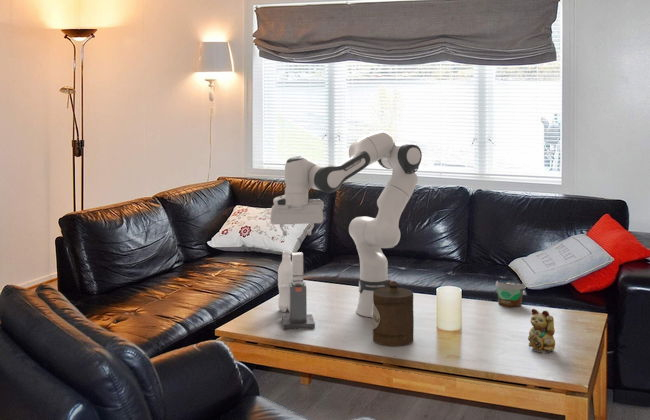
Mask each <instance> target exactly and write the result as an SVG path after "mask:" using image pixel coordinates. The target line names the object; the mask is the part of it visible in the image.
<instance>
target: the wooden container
mask: <svg viewBox="0 0 650 420" xmlns="http://www.w3.org/2000/svg"><path fill="white" fill-rule="evenodd" d="M389 286H390V287H385V288H379V289H376V290H374V292H373V318H372V340H373V342H374V343H376V344H379V345H381V346H384V347H385V346H386V347H404V346H408V345H410V344H411V343H413V342H414V327H415V326H414V325H415V323H414V319H415V318H414V291H413V290H411V289H410V288H409V289H408V288H404V287H399V283H398V282H396V281H395V280H392V281H391V282H390V283H389Z"/></svg>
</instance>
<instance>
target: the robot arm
mask: <svg viewBox="0 0 650 420" xmlns="http://www.w3.org/2000/svg"><path fill="white" fill-rule="evenodd" d="M422 153H423V152H422V149H421V148H420V147H419V146H418V145H417V144H415V143H411V142H402V141H401V142H399V141H398V142H394V138H393V137H392V136H391V134H390V133H389V132H387V131H386V130H385V131H384V130H379V131H375V132H372V133H369V134H367V135H365V136H363V137H360V138H358V139H357V140H355V141H353V142H352V143H351V145H349V148H348V157H349V158H347V159H346V160H344V161H343V162H341V163H340V164H338V165H325V164H324V165H323V164H320V163H319V164H318V163H315V162H313V161H311V160H309V159H308V158H306V156H303V155H298V156H293V157H292V156H291V157H289V158H288V159H287V160H286V162H285V165H284V182H285V183H284V184H285V187H284V188H285V189H284V194H283V195H279V196H275V197H274V198H273V200H272V201H273V204H272V206H271V209H270V218H269V219H270V220H269V221H270V223H271V224H272V225H279V228H280V230H281V231H282V236H283V237H285V236H286V237H287V236H288V235H287V234H288V233H287V231H288V230H285V229H284V226H285V225H302V224H303V225H304V224H306V225H307V224H309V225H310V226H309V227H310V228H309V229H307V230H306V232H307V233H306V234H307V236H311V235H312V231H313V229H314V227H315V224H322V223H323V222H324V212H323V210H324V208H325V203H324V201H323V200H321V199H320V198H316V199H315V198H309V189H313V190H318V191H321V192H323V193H326V194H332V193H334V192H336V191H337V190H339V189H340V187H341V186H342V185H343V184H344V183H345V182H346V181H347V180H348V179H351V178H352V177H353V176H355V175H356V174H358V173H360V172H361V171H362V170H364V169H366V168H367V167H368V166H371V165H372V164H374V163H376V162H378V165H380V166H381V167H382V168H384V169H386V170H391V171H392V174H391V177H390V179H389V181H387V183H386V185H385V187H384V188H383V190H382V191H381V193H380V195H379V197H378V198H377V200H376V206H377V208H378V211H377V214H376V217H371V216H367V215H366V216H356V217H355V218H353V219H352V220H351V221H350V223H349V225H348V233H349V235H350V237H351V238H352V240H353V242H354V244H355V246H356V250H357V253H358V257H359V279H358V292H359V297H358V303H357V308H356V310H355V313H356V314H357V315H360V316H363V317H366V318H367V317H368V318H371V319H373V292H374V290H376V289H379V288H385V287H390V286H389V283H390V282H391V281H393V280H392V279H390V278H389V277H388V259H387V257H386V256H385V254H384V253H383V250H382V249H392V248H395V246H397V245H398V243H399V242H400V239H401V231H400V230H401V229H400V228H399V223H400V219H401V215H402V213H403V211H404V209H405V208H406V205H407V204H408V202H409V201H410V199H411V197H412V195H413V193H414V190H415V189H416V186H417V183H418V175H417V173H416V172H417V171H418V170H419V169H420V168H419V166H420V164H421V162H422V156H423V154H422Z"/></svg>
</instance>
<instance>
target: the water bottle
mask: <svg viewBox="0 0 650 420" xmlns="http://www.w3.org/2000/svg"><path fill="white" fill-rule="evenodd" d="M281 255H282V256H281V258H282V259H281V262H280V263H279V267H278V269H277V287H278V295H279V297H278V301H277V303H278V304H277V305H278V309H279V311H281V312H283V313H286V312H287V311H288V312H289V283H292V259H291V258H292V255H291V252H290V250H283V251H282V254H281Z"/></svg>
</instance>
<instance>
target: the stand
mask: <svg viewBox="0 0 650 420" xmlns="http://www.w3.org/2000/svg"><path fill="white" fill-rule="evenodd" d="M307 305H308V304H307V284H306V282H305V281H303V286H301V284H297V285H296V286H292V283H289V311H288V312H289V314H287V315H285V314H284V315H281V323H282V328H283V331H284V330H305V329H306V330H307V329H316V323H315V319H314V317H313V314H310V313H309V314H308V313H307Z"/></svg>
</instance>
